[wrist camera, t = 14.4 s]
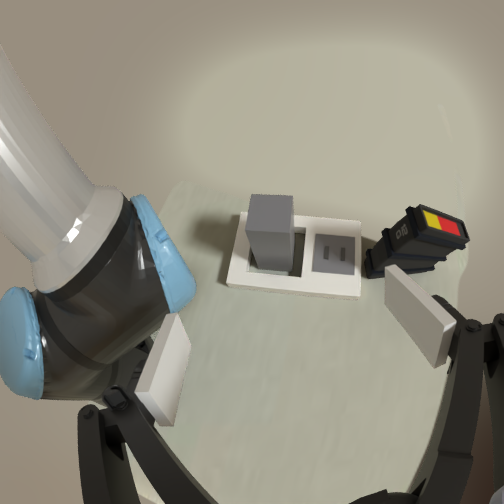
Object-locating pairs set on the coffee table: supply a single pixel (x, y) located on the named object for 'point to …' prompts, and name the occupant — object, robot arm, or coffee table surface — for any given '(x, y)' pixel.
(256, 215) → the grey tall block
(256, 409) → the coffee table surface
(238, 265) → the white flat rectangular frame
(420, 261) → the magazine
